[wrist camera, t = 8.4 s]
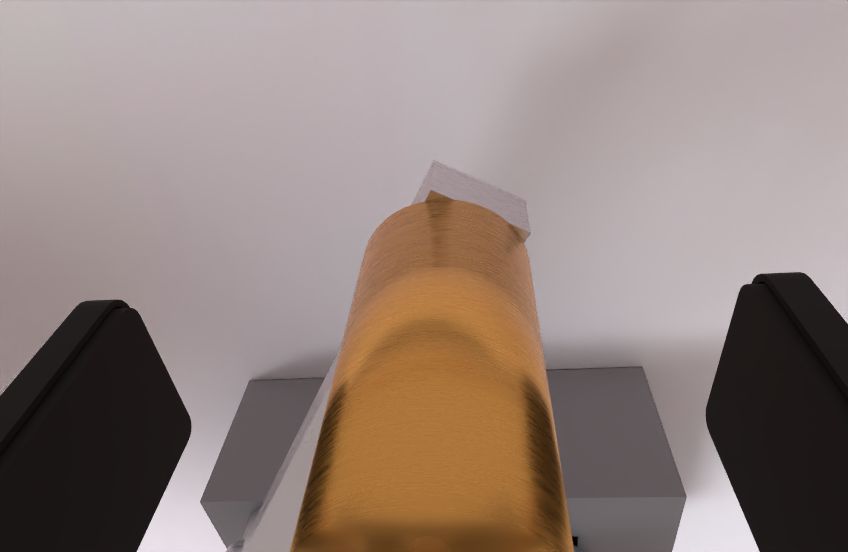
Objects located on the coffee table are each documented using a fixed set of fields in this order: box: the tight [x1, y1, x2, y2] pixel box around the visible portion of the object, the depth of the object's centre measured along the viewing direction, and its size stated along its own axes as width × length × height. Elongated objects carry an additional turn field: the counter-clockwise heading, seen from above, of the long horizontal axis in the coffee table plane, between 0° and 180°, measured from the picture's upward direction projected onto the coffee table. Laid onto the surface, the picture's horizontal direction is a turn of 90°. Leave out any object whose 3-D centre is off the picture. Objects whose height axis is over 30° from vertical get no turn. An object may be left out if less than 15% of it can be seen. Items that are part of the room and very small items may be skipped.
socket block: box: [200, 367, 686, 552], centre depth 25 cm, size 17×10×7 cm, turn 96°
